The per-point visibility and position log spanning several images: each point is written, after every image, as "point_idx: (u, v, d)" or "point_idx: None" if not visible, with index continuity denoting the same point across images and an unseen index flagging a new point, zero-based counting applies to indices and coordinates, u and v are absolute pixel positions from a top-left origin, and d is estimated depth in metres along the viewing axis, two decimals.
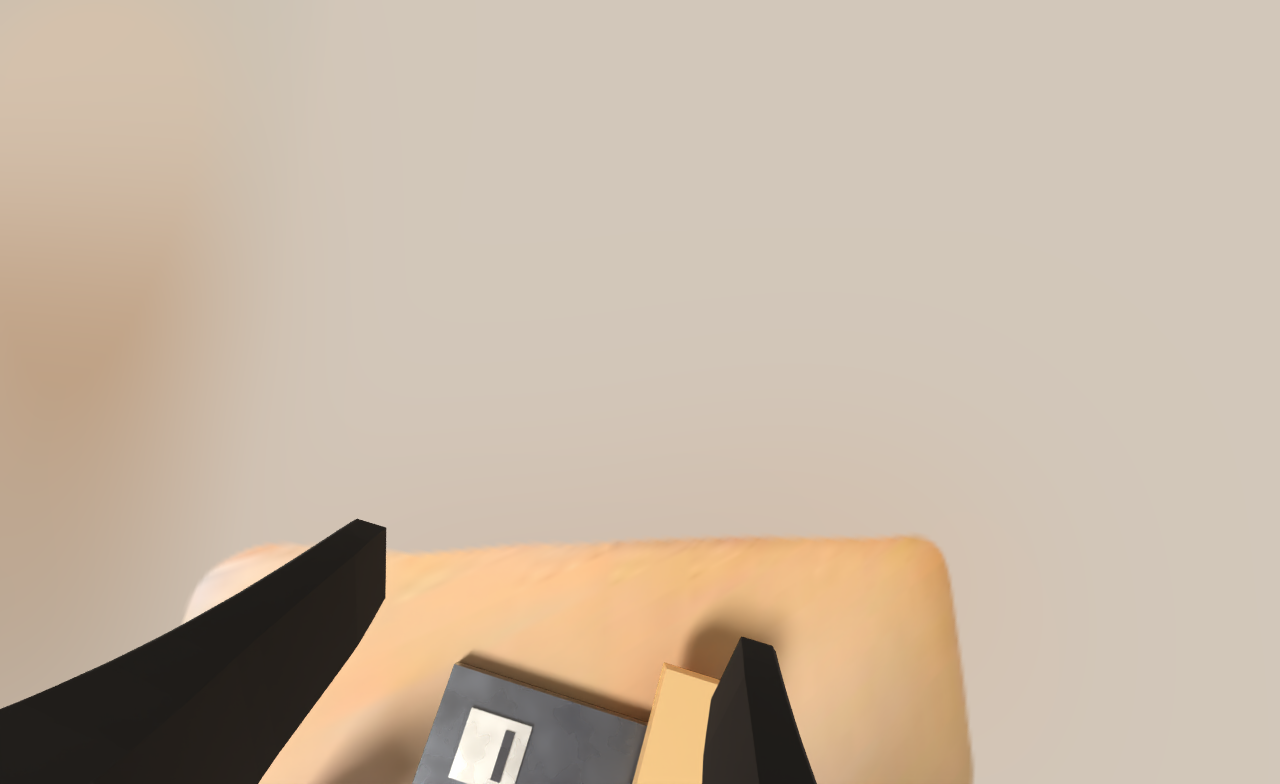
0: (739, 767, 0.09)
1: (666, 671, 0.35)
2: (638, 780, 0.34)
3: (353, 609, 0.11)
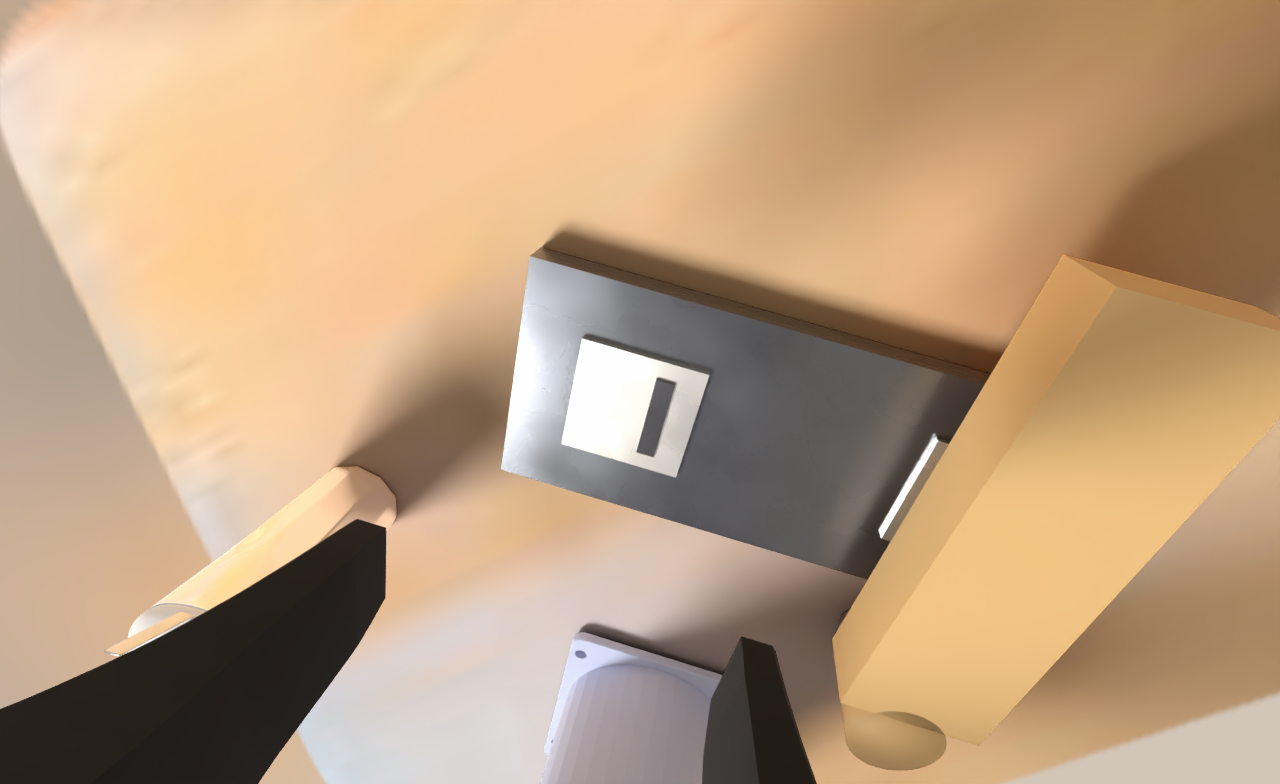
0: (739, 767, 0.09)
1: (1113, 294, 0.12)
2: (967, 513, 0.15)
3: (353, 609, 0.11)
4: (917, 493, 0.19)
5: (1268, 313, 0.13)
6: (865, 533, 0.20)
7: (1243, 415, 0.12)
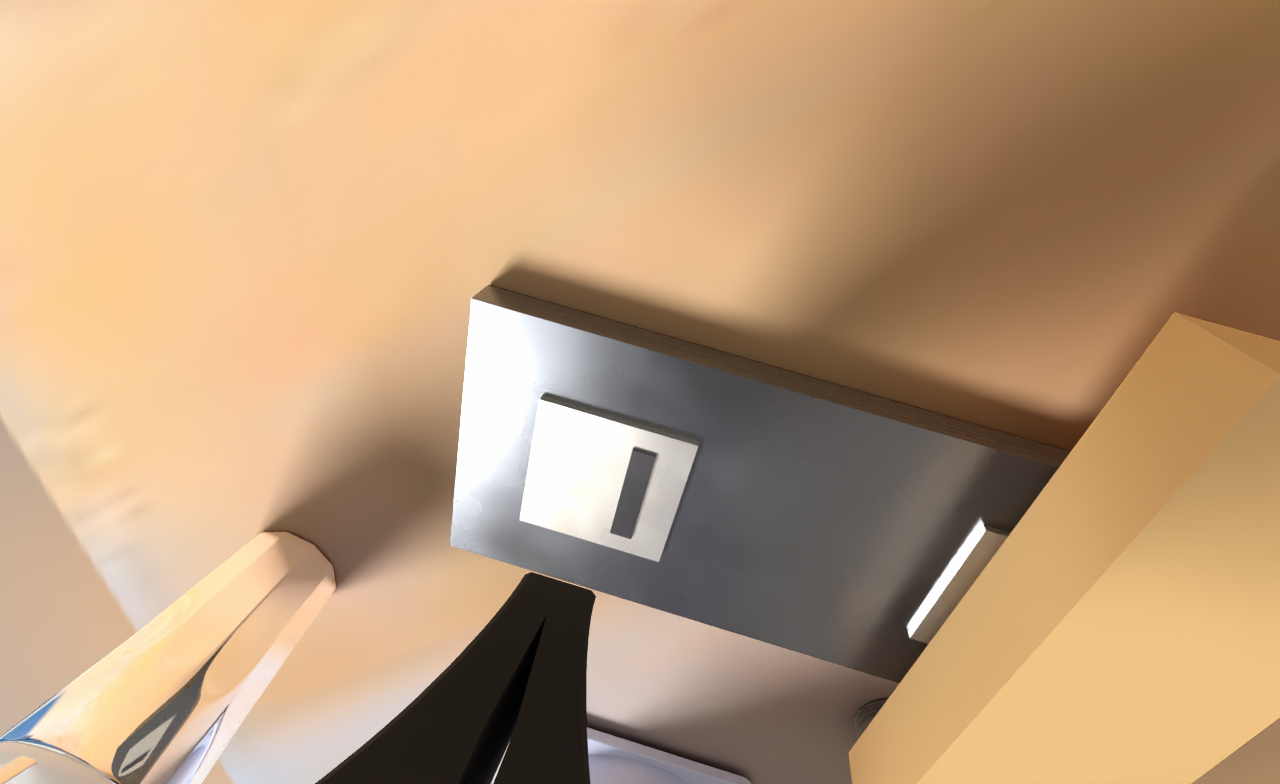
0: None
1: (1273, 384, 0.08)
2: (1036, 650, 0.11)
3: None
4: (956, 589, 0.15)
5: None
6: (890, 630, 0.16)
7: None
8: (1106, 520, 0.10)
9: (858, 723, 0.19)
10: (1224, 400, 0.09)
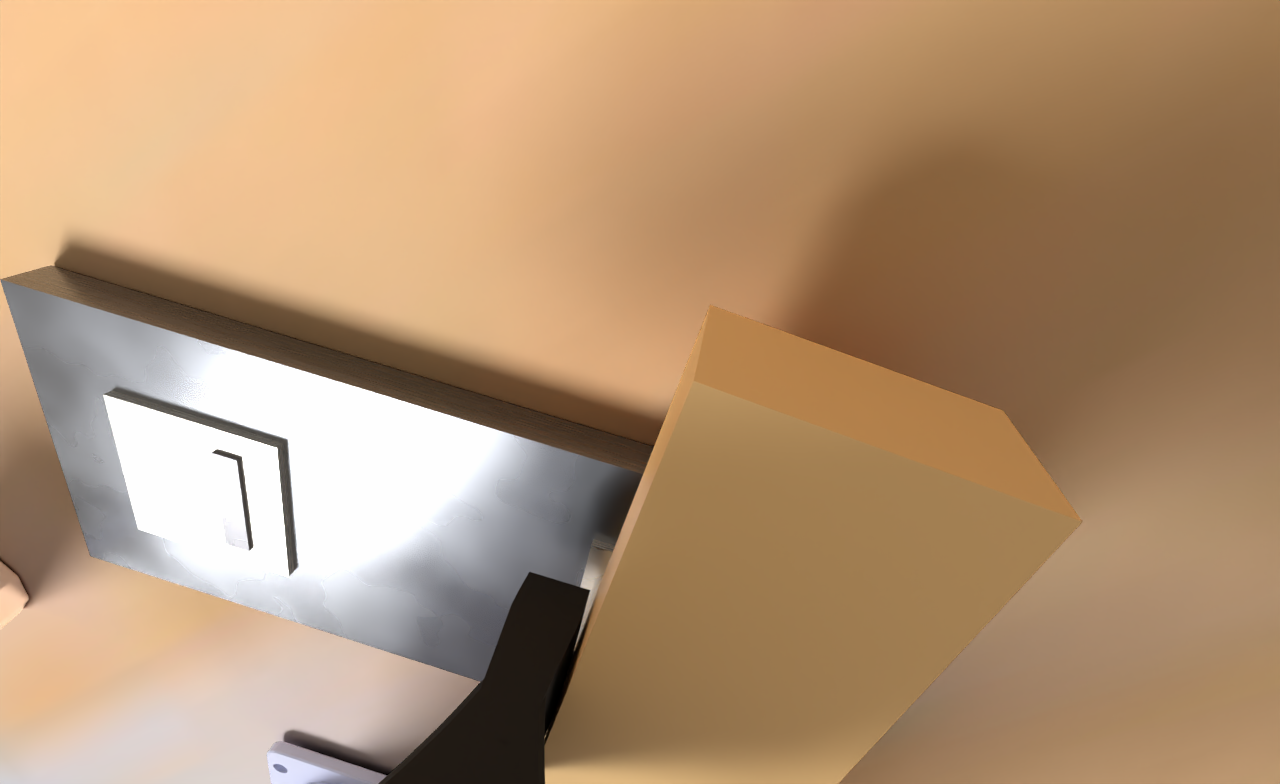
0: None
1: (692, 393, 0.06)
2: (567, 697, 0.09)
3: (564, 675, 0.11)
4: (587, 610, 0.13)
5: (1010, 428, 0.08)
6: None
7: (935, 608, 0.07)
8: (621, 549, 0.09)
9: None
10: (678, 411, 0.07)
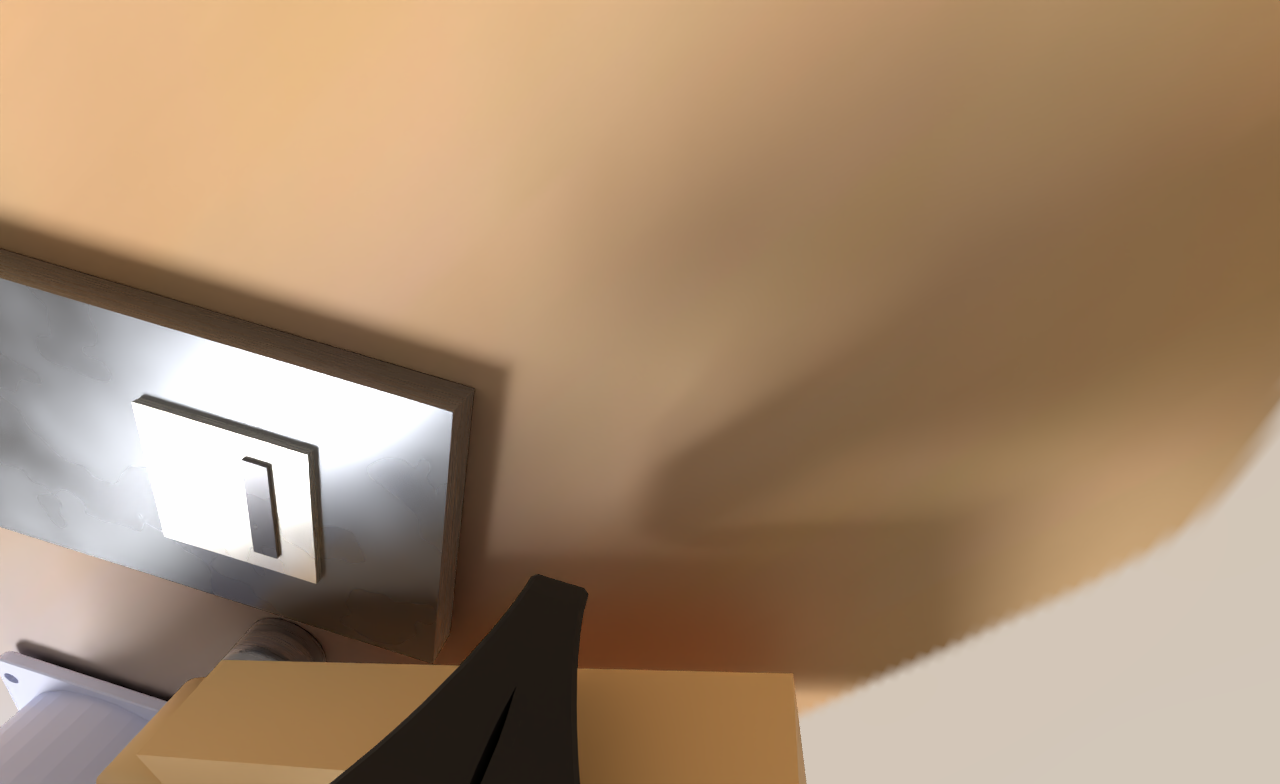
0: None
1: None
2: None
3: None
4: (160, 475, 0.14)
5: None
6: (156, 529, 0.15)
7: None
8: (612, 752, 0.11)
9: None
10: (758, 775, 0.10)
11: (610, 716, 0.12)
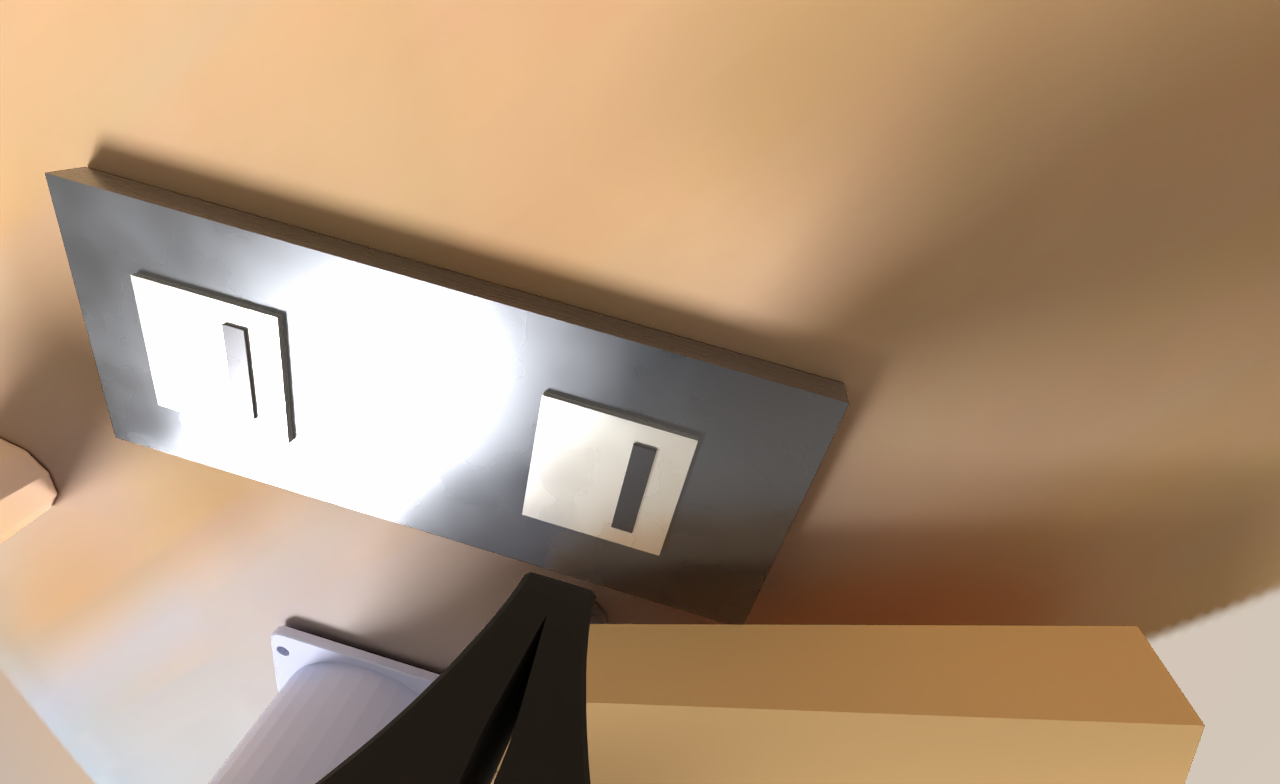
0: None
1: (1194, 725, 0.12)
2: (875, 713, 0.13)
3: None
4: (541, 459, 0.16)
5: None
6: (509, 508, 0.17)
7: None
8: (1004, 689, 0.13)
9: None
10: (1152, 704, 0.12)
11: (984, 662, 0.14)
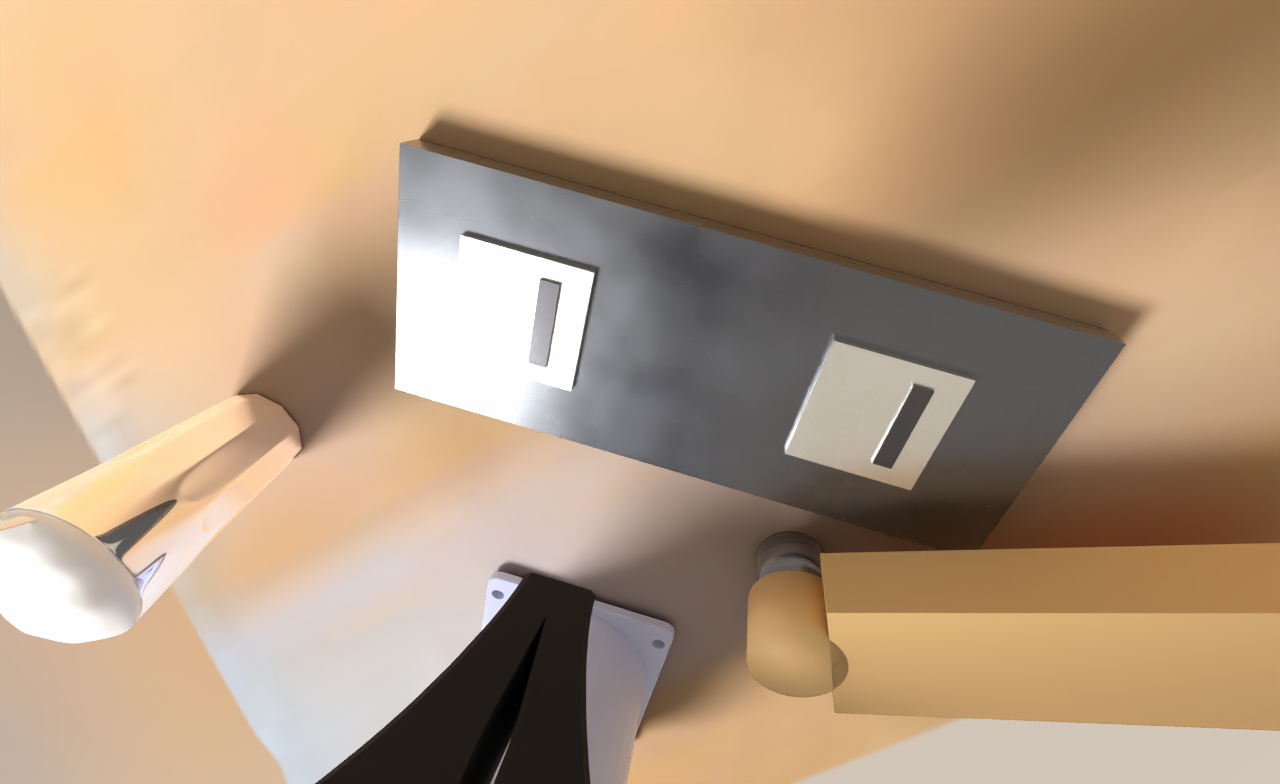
0: None
1: None
2: (1158, 613, 0.15)
3: None
4: (818, 401, 0.18)
5: None
6: (770, 449, 0.19)
7: None
8: (1272, 592, 0.15)
9: (758, 555, 0.22)
10: None
11: (1244, 572, 0.16)
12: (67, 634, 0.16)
